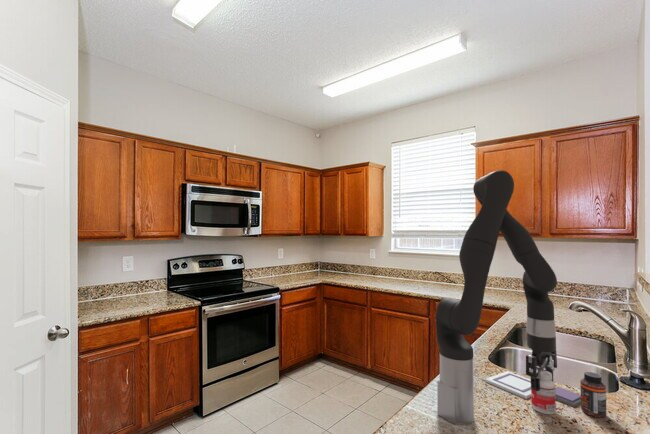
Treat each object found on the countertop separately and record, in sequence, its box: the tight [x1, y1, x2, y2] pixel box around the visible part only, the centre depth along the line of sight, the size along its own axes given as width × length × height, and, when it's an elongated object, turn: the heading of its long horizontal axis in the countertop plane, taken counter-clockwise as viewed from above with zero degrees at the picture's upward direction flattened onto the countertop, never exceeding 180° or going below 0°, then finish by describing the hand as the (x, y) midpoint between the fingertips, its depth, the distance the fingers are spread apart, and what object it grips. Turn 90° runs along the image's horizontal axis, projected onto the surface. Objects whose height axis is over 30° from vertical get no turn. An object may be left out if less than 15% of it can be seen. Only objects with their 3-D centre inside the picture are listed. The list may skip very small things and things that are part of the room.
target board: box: [484, 370, 531, 400], centre depth 114 cm, size 14×14×1 cm
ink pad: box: [555, 386, 581, 408], centre depth 105 cm, size 8×8×2 cm
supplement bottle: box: [579, 371, 607, 419], centre depth 97 cm, size 6×6×11 cm
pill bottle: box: [530, 369, 557, 415], centre depth 99 cm, size 6×6×11 cm
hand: (542, 386), depth 99 cm, fingers open, 8 cm apart
